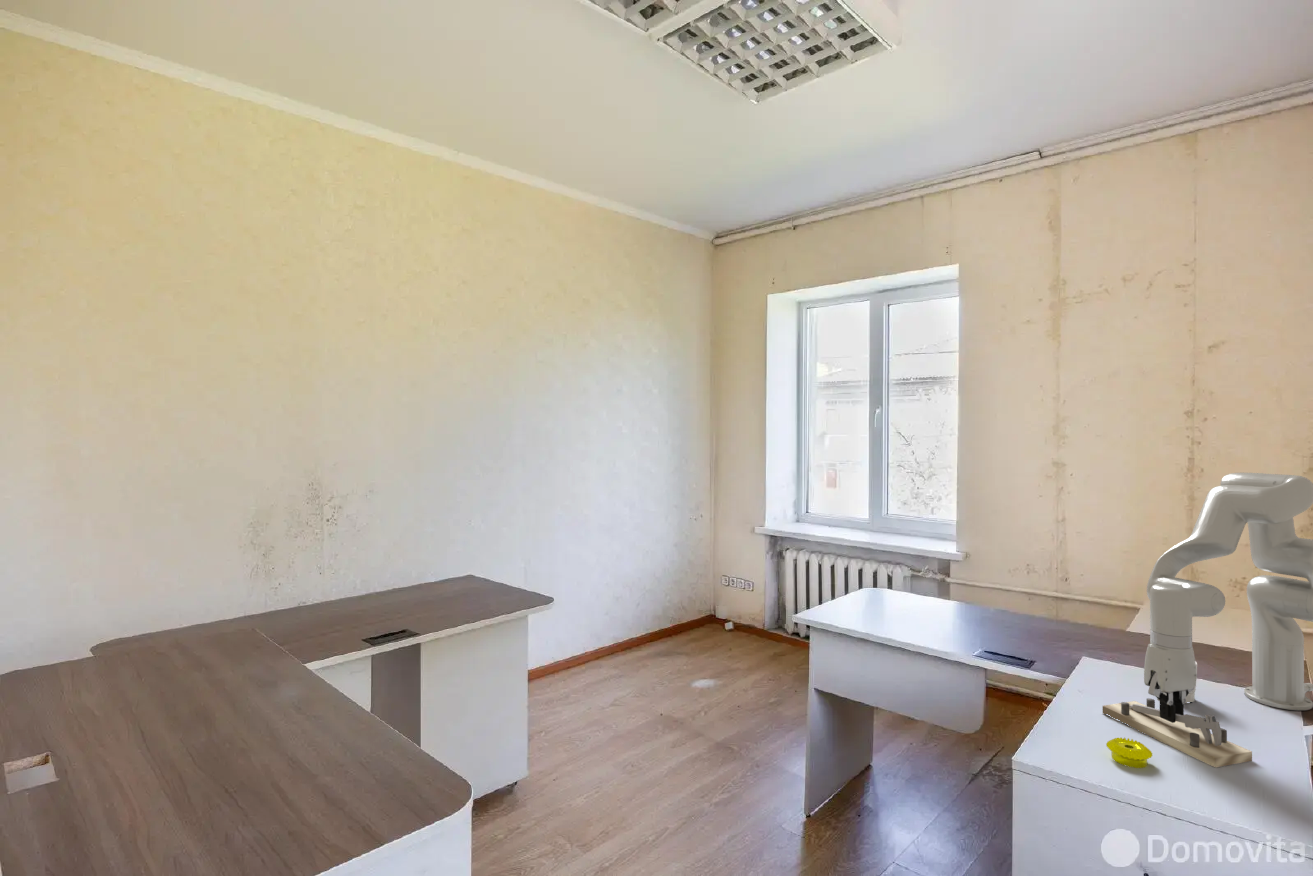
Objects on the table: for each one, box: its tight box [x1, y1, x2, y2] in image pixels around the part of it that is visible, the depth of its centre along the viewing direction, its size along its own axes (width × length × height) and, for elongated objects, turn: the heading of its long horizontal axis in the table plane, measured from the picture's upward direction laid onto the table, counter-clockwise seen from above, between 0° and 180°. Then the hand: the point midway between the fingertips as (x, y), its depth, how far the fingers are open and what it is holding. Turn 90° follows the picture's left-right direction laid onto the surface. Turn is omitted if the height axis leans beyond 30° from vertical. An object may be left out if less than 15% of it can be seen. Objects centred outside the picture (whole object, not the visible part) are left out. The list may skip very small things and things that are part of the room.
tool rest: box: [1102, 697, 1253, 768], centre depth 148 cm, size 10×26×4 cm, turn 13°
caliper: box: [1129, 704, 1222, 746], centre depth 148 cm, size 20×1×6 cm, turn 14°
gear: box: [1105, 737, 1153, 769], centre depth 138 cm, size 8×4×8 cm
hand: (1171, 718), depth 148 cm, fingers closed
